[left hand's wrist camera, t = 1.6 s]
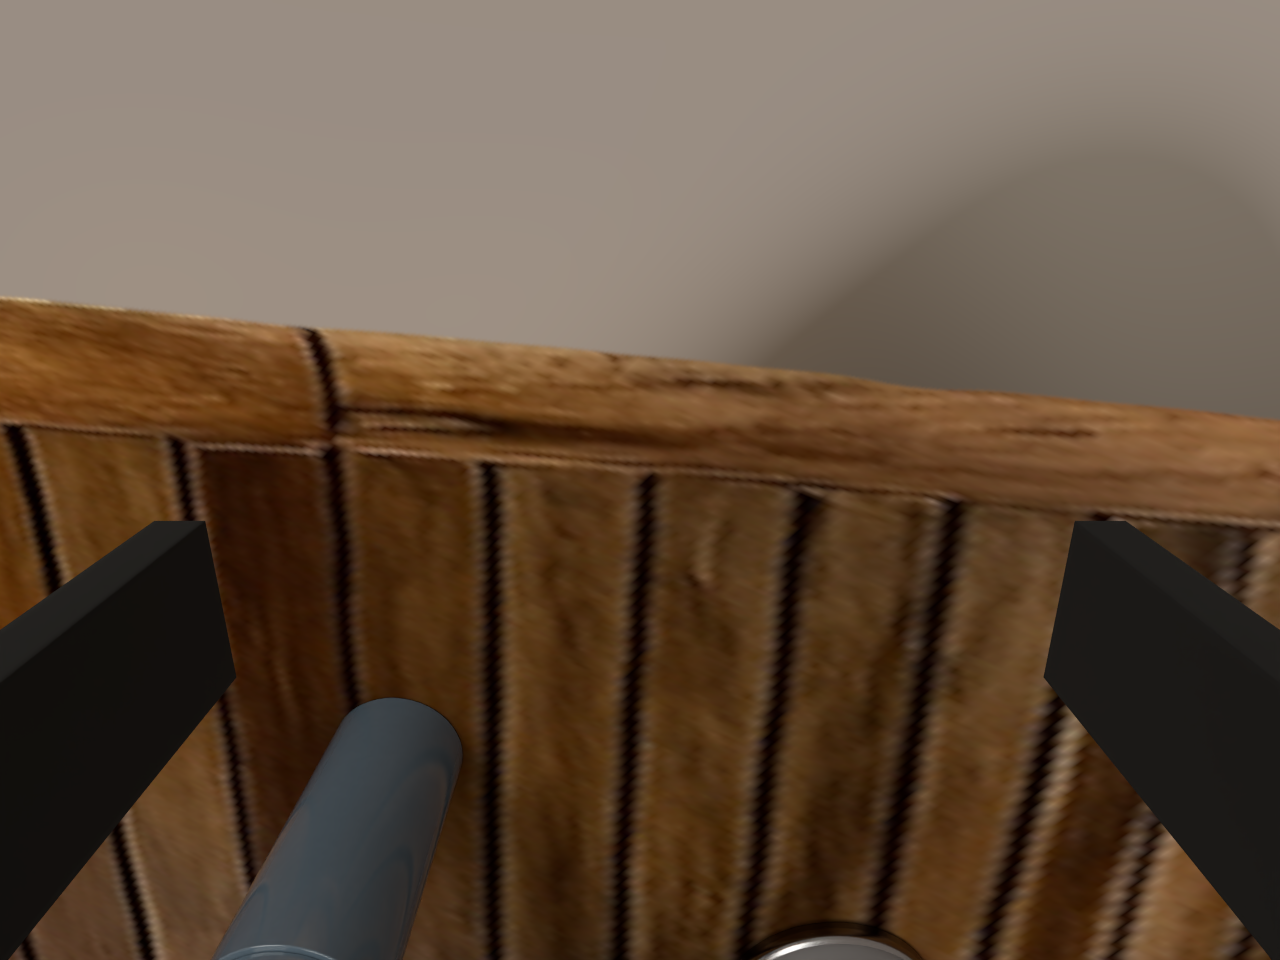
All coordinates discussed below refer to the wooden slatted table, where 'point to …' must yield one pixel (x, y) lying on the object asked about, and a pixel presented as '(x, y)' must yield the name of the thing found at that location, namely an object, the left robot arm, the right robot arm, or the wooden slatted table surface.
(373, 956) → the bottle
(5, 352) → the wooden slatted table surface
